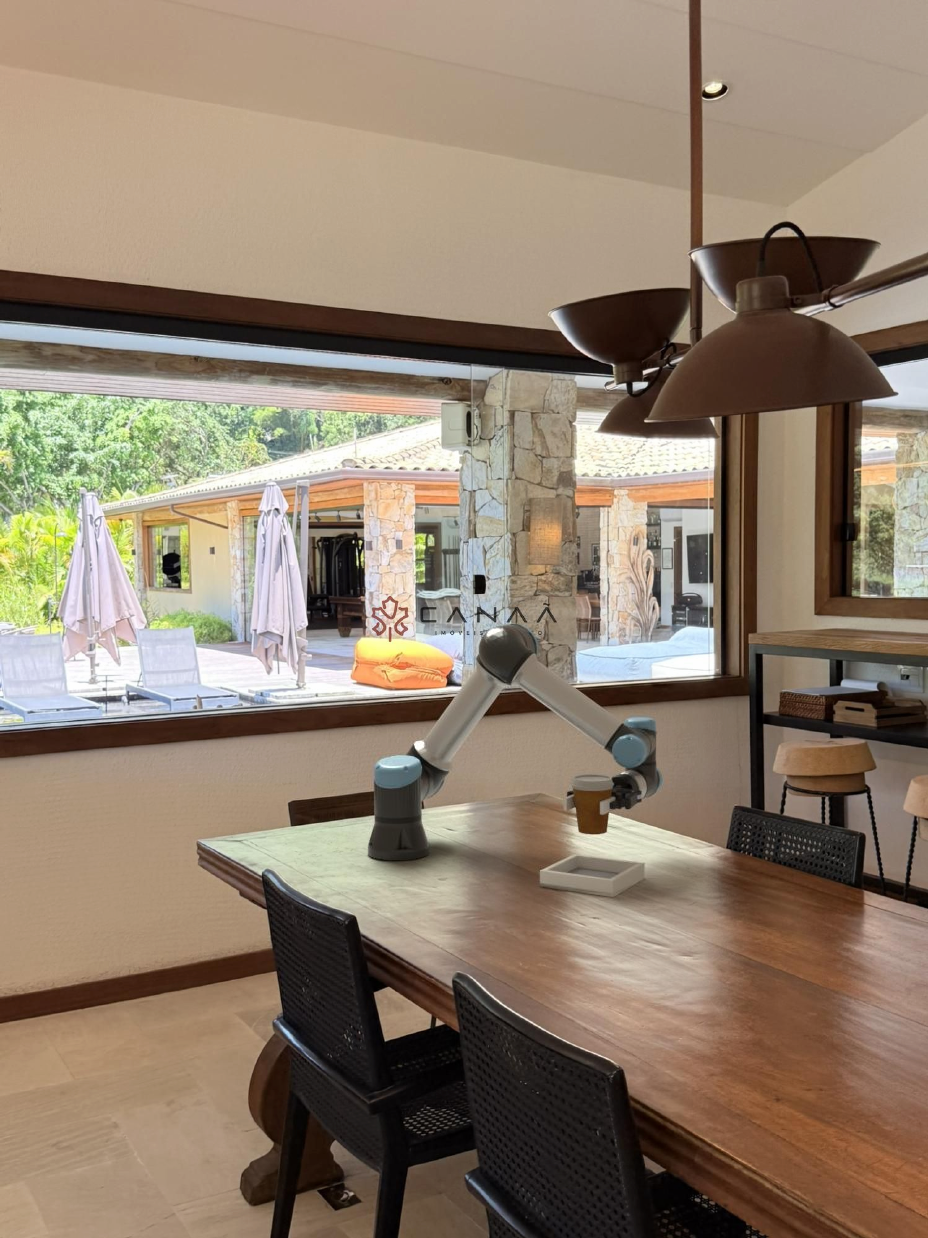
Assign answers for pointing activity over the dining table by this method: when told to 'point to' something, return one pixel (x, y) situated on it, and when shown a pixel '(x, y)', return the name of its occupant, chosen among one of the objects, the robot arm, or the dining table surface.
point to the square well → (592, 875)
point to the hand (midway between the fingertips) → (583, 806)
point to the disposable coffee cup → (591, 802)
